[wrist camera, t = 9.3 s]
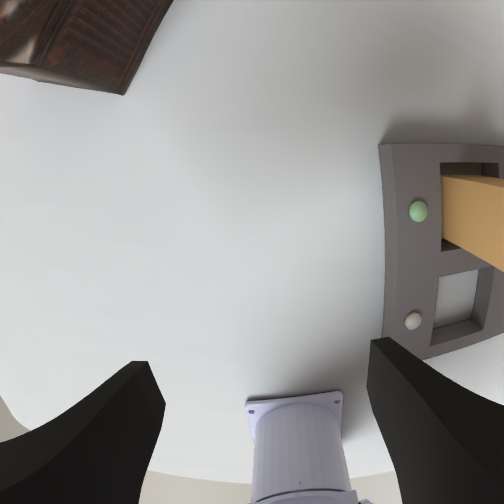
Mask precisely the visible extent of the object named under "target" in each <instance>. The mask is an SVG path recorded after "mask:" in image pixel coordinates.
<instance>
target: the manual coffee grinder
mask: <svg viewBox="0 0 504 504" xmlns="http://www.w3.org/2000/svg"><path fill="white" fill-rule="evenodd" d="M172 1H173V0H0V73H2V74H8V75H13V76H18V77H24V78H29V79H33V80H36V81H38V82H46V83H52V84H57V85H63V86H69V87H75V88H82V89H89V90H96V91H102V92H108V93H114V94H119V95H124V94H125V92H126V90H127V88H128V86H129V84H130V82H131V80H132V78H133V76H134V74H135V73H136V71H137V69H138V67H139V65H140V62H141V60H142V58H143V56H144V54H145V52H146V50H147V48H148V46H149V44H150V42H151V40H152V38H153V36H154V34H155V32H156V30H157V28H158V26H159V24H160V23H161V21H162V19H163V17H164V15H165V14H166V12H167V10H168V8H169V7H170V5H171V3H172Z"/></svg>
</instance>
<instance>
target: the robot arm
mask: <svg viewBox="0 0 504 504" xmlns="http://www.w3.org/2000/svg"><path fill="white" fill-rule="evenodd" d="M366 387H367V391H368V395H369V399H370V403H371V406H372V410H373V413H374V416H375V419H376V421H377V424H378V426H379V429H380V431H381V434H382V436H383V439H384V441H385V444H386V446H387V449H388V452H389V454H390V457H391V459H392V462H393V465H394V468H395V471H396V474H397V479H398V483H399V488H400V493H401V498H402V503H403V504H504V405H501V404H498V403H496V402H493V401H491V400H488V399H486V398H484V397H482V396H480V395H478V394H476V393H474V392H472V391H470V390H468V389H466V388H464V387H462V386H460V385H459V384H457V383H455V382H454V381H452V380H450V379H449V378H447V377H445V376H444V375H442V374H441V373H439V372H438V371H436V370H435V369H433V368H432V367H430V366H429V365H427V364H426V363H425V362H423V361H422V360H420V359H419V358H418V357H416V356H415V355H413V354H412V353H411V352H409V351H408V350H407V349H405V348H404V347H403V346H401V345H400V344H399V343H397V342H396V341H394V340H393V339H392V338H390V337H384V338H379V339H374V340H371V345H370V357H369V368H368V378H367V386H366ZM336 400H338V401H336ZM165 406H166V403H165V400H164V398H163V396H162V394H161V392H160V389H159V387H158V385H157V383H156V380H155V378H154V376H153V373H152V371H151V368H150V366H149V363H148V361H131V362H130V363H129V364H127V365H126V366H124V367H123V368H122V369H120V370H119V371H118V372H117V373H115V374H114V375H113V376H111V377H110V378H109V379H108V380H107V381H105V382H104V383H103V384H101V385H100V386H99V387H98V388H96V389H95V390H94V391H93V392H91V393H90V394H89V395H88V396H86V397H85V398H83V399H82V400H81V401H79V402H78V403H77V404H75V405H74V406H72V407H71V408H70V409H68V410H67V411H65V412H64V413H62V414H61V415H59V416H58V417H56V418H54V419H53V420H51V421H49V422H47V423H46V424H44V425H42V426H40V427H38V428H36V429H34V430H32V431H30V432H27V433H25V434H23V435H21V436H18V437H16V438H13V439H10V440H8V441H5V442H1V443H0V504H138V503H139V498H140V492H141V487H142V484H143V480H144V477H145V474H146V471H147V468H148V465H149V462H150V459H151V456H152V454H153V451H154V448H155V445H156V442H157V439H158V436H159V433H160V430H161V427H162V422H163V417H164V411H165ZM342 409H343V393H342V392H341V391H334V392H328V393H321V394H314V395H307V396H299V397H291V398H281V399H271V400H258V401H248V402H246V403H245V411H246V415H247V419H248V423H249V427H250V431H251V434H252V438H253V442H254V461H253V479H252V497H251V503H250V504H373V503H372V502H370V501H369V500H367V499H365V500H360V501H359V502H358V498H357V493H356V490H351V485H350V479H349V474H348V469H347V464H346V460H345V455H344V450H343V445H342V441H341V436H340V434H341V422H342ZM251 410H253V411H251Z"/></svg>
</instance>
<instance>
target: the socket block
mask: <svg viewBox="0 0 504 504" xmlns="http://www.w3.org/2000/svg"><path fill="white" fill-rule="evenodd" d="M378 149H379V157H380V167H381V177H382V190H383V205H384V226H385V292H384V314H383V329H382V338H384V337H390V338H392V339H393V340H394V341H396V342H397V343H399V344H400V345H401V346H403V347H404V348H405V349H407V350H408V351H409V352H411V353H412V354H413V355H415V356H416V357H418V358H419V359H420V360H425V359H428V358H432V357H435V356H439V355H442V354H445V353H448V352H452V351H455V350H458V349H461V348H464V347H467V346H470V345H472V344H475V343H478V342H481V341H483V340H486V339H489V338H491V337H494V336H496V335H499V334H501V333H504V272H503V271H501V270H499V269H498V268H496V267H494V266H493V265H491V264H489V263H488V262H486V261H484V260H482V259H481V258H479V257H477V256H475V255H474V254H472V253H470V252H468V251H466V250H465V249H463V248H461V247H459V246H457V245H455V244H454V243H452V242H450V241H448V240H445V241H441V232H442V203H441V178H440V164H439V163H441V162H477V163H482V175H483V176H489V177H495V178H500V179H504V147H502V146H489V145H473V144H449V143H393V144H382V145H378ZM475 269H479V273H478V281H477V288H476V294H475V300H474V306H473V311H472V316H471V319H467V320H464V321H461V322H457V323H454V324H450V325H447V326H443V327H439V328H436V329H433V323H434V316H435V309H436V301H437V293H438V283H439V277H442V276H447V275H452V274H457V273H461V272H466V271H471V270H475Z"/></svg>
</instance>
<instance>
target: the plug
mask: <svg viewBox="0 0 504 504" xmlns="http://www.w3.org/2000/svg"><path fill="white" fill-rule="evenodd" d="M440 178H441V203H442V232H441V237H442V238H444V239H446V240H448V241H450V242H452V243H454V244H455V245H457V246H459V247H461V248H463V249H465V250H466V251H468V252H470V253H472V254H474V255H475V256H477V257H479V258H481V259H482V260H484V261H486V262H488V263H489V264H491V265H493V266H494V267H496V268H498V269H499V270H501V271H503V272H504V179H500V178H495V177H489V176H483V175H476V174H466V175H440Z"/></svg>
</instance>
